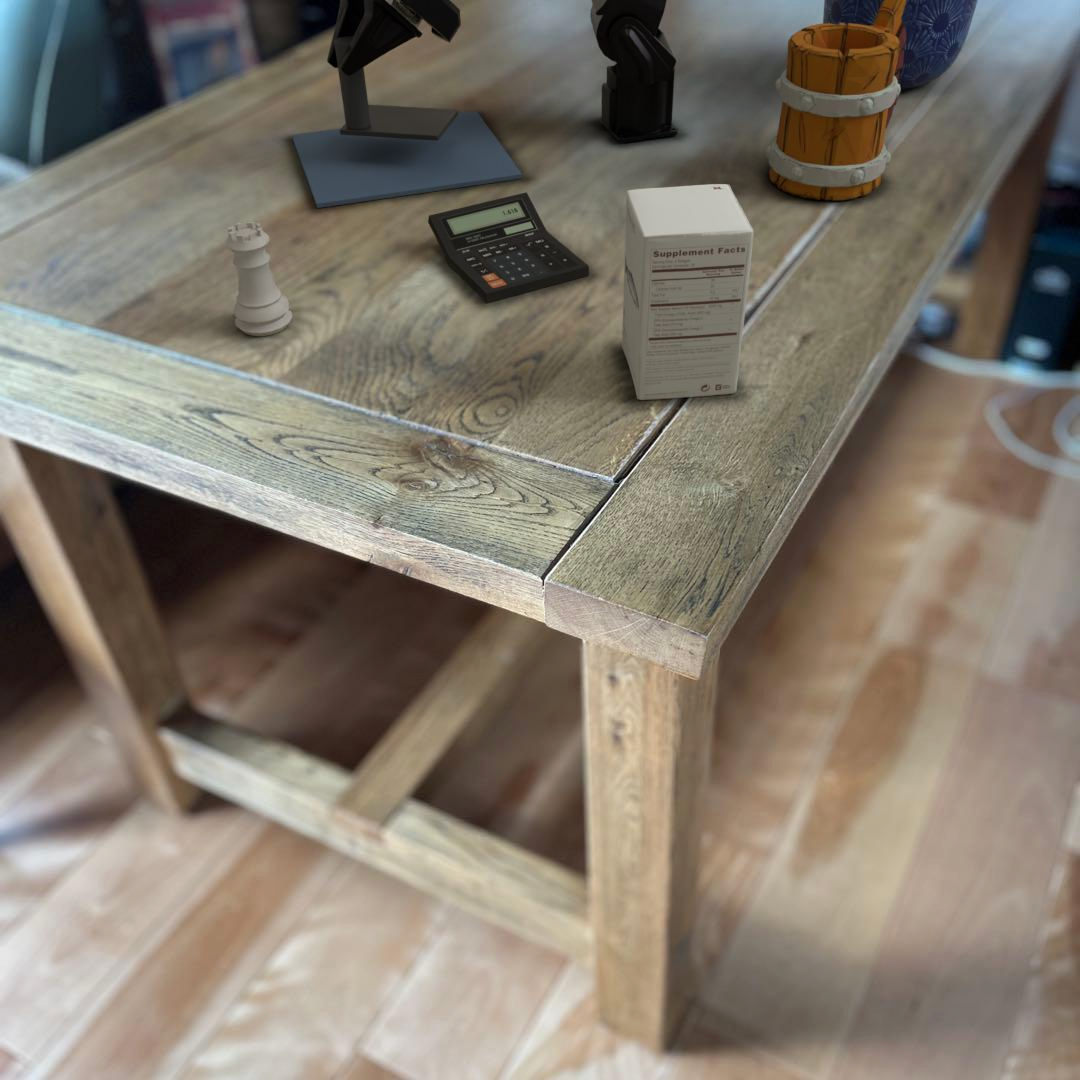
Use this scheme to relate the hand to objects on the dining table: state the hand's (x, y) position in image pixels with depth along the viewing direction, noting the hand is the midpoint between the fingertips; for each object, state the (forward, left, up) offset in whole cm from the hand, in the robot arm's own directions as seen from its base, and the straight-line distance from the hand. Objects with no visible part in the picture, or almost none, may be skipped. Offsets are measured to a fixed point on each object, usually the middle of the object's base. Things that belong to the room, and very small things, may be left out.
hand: (337, 69), depth 104 cm
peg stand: (-5, -1, -6) cm, 8 cm away
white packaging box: (-16, +45, -10) cm, 49 cm away
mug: (-45, +17, -10) cm, 49 cm away
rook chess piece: (+12, +28, -10) cm, 32 cm away
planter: (-62, -5, -10) cm, 63 cm away
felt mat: (-5, -1, -9) cm, 11 cm away
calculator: (-9, +24, -10) cm, 28 cm away
